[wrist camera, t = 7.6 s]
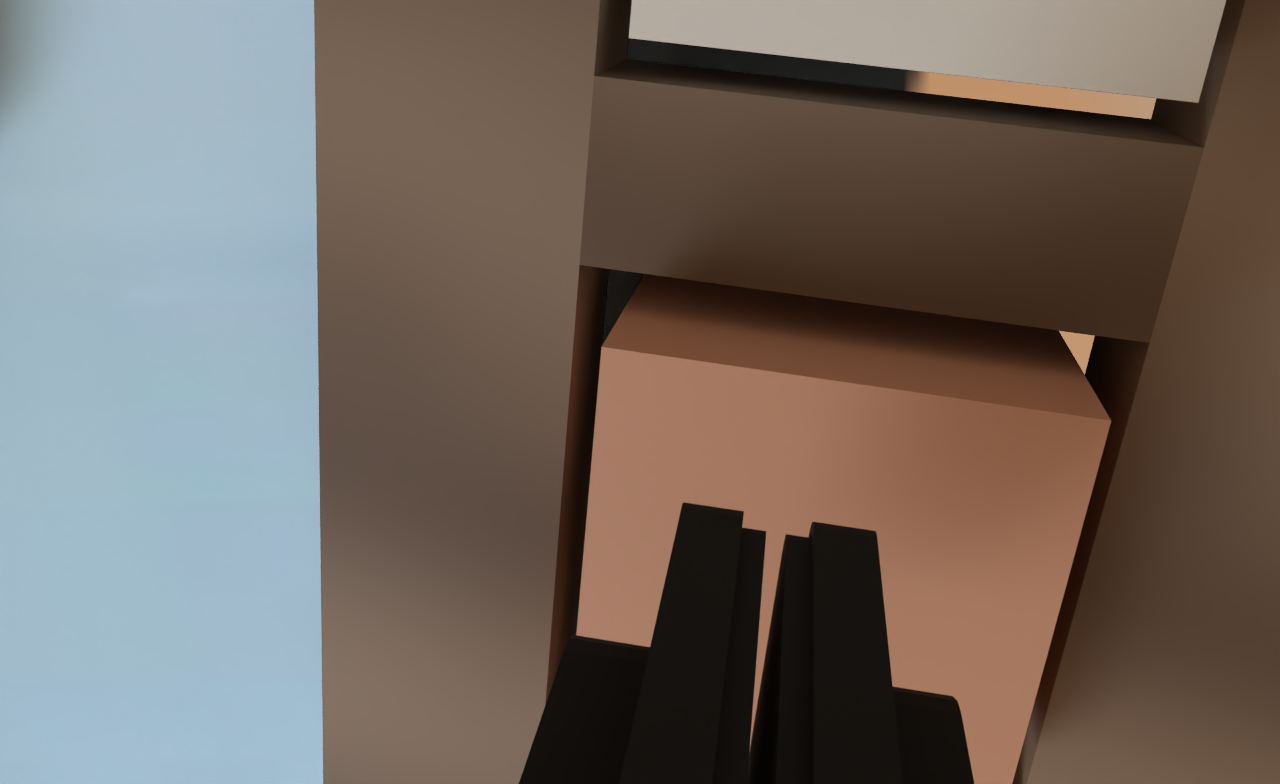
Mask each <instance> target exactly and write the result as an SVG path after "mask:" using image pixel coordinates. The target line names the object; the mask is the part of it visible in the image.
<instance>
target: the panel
mask: <svg viewBox="0 0 1280 784" xmlns="http://www.w3.org/2000/svg"><path fill="white" fill-rule="evenodd" d="M631 5H632V0H314V13H315V98H316V184H317V270H318V356H319V441H320V527H321V613H322V699H323V784H519V781H520V778H521V775H522V773H523V770H524V767H525V764H526V761H527V758H528V755H529V752H530V749H531V746H532V743H533V740H534V737H535V734H536V731H537V729H538V726H539V723H540V720H541V717H542V714H543V711H544V708H545V705H546V702H547V699H548V696H549V693H550V690H551V688H552V685H553V682H554V679H555V676H556V673H557V670H558V667H559V664H560V661H561V658H562V655H563V652H564V649H565V647H566V645H567V642H568V640H569V638H570V637H571V636H572V635H576V633H577V621H578V610H579V599H580V587H581V576H582V564H583V553H584V542H585V530H586V519H587V507H588V496H589V484H590V473H591V462H592V450H593V439H594V427H595V416H596V404H597V393H598V382H599V370H600V359H601V347H602V340H603V329H604V317H605V306H606V295H607V283H608V272H609V269H613V270H621V271H628V272H635V273H643V274H650V275H657V276H664V277H672V278H679V279H686V280H694V281H701V282H708V283H716V284H723V285H730V286H737V287H745V288H752V289H759V290H767V291H774V292H781V293H789V294H796V295H803V296H810V297H818V298H825V299H832V300H840V301H847V302H854V303H862V304H869V305H876V306H883V307H891V308H898V309H905V310H913V311H920V312H927V313H935V314H942V315H949V316H956V317H964V318H971V319H978V320H986V321H993V322H1000V323H1008V324H1015V325H1022V326H1029V327H1037V328H1044V329H1051V330H1059V331H1066V332H1073V333H1081V334H1088V335H1095V338H1094V342H1093V346H1092V349H1091V353H1090V357H1089V362H1088V365H1087V369H1086V373H1085V377H1086V378H1087V380H1088V382H1089V384H1090V385H1091V387H1092V389H1093V390H1094V392H1095V394H1096V395H1097V397H1098V399H1099V401H1100V402H1101V404H1102V406H1103V407H1104V409H1105V411H1106V412H1107V414H1108V416H1109V418H1110V419H1111V424H1110V428H1109V431H1108V435H1107V439H1106V442H1105V446H1104V450H1103V453H1102V457H1101V461H1100V464H1099V468H1098V472H1097V475H1096V479H1095V483H1094V486H1093V490H1092V493H1091V497H1090V501H1089V504H1088V508H1087V512H1086V515H1085V519H1084V523H1083V526H1082V530H1081V534H1080V537H1079V541H1078V545H1077V548H1076V552H1075V556H1074V559H1073V563H1072V567H1071V570H1070V574H1069V578H1068V581H1067V585H1066V589H1065V592H1064V596H1063V600H1062V603H1061V607H1060V611H1059V614H1058V618H1057V622H1056V625H1055V629H1054V633H1053V636H1052V640H1051V644H1050V647H1049V651H1048V655H1047V658H1046V662H1045V665H1044V669H1043V673H1042V676H1041V680H1040V684H1039V687H1038V691H1037V695H1036V698H1035V702H1034V706H1033V709H1032V713H1031V717H1030V720H1029V724H1028V728H1027V731H1026V735H1025V739H1024V742H1023V746H1022V750H1021V753H1020V757H1019V761H1018V764H1017V768H1016V772H1015V775H1014V779H1013V783H1012V784H1280V0H1226V3H1225V7H1224V10H1223V14H1222V18H1221V21H1220V25H1219V29H1218V32H1217V36H1216V40H1215V43H1214V47H1213V51H1212V54H1211V58H1210V62H1209V65H1208V69H1207V73H1206V76H1205V80H1204V84H1203V87H1202V91H1201V95H1200V98H1199V102H1198V103H1196V102H1187V101H1178V100H1169V99H1161V98H1157V99H1156V103H1155V107H1154V110H1153V114H1152V118H1151V119H1142V118H1133V117H1124V116H1116V115H1108V114H1099V113H1090V112H1082V111H1072V110H1064V109H1056V108H1046V107H1038V106H1030V105H1021V104H1013V103H1004V102H995V101H986V100H977V99H969V98H960V97H952V96H943V95H934V94H926V93H917V92H909V91H900V90H891V89H883V88H874V87H865V86H857V85H848V84H840V83H831V82H822V81H814V80H805V79H796V78H788V77H779V76H770V75H762V74H753V73H744V72H736V71H727V70H718V69H710V68H701V67H693V66H684V65H675V64H667V63H658V62H649V61H641V60H632V59H627V55H628V44H629V28H630V16H631Z"/></svg>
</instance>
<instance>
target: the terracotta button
mask: <svg viewBox="0 0 1280 784" xmlns="http://www.w3.org/2000/svg"><path fill="white" fill-rule="evenodd" d="M1110 424H1111V419H1110V418H1109V416H1108V414H1107V412H1106V411H1105V409H1104V407H1103V406H1102V404H1101V402H1100V401H1099V399H1098V397H1097V395H1096V394H1095V392H1094V390H1093V389H1092V387H1091V385H1090V384H1089V382H1088V380H1087V378H1086V377H1085V375H1084V373H1083V372H1082V370H1081V368H1080V367H1079V365H1078V363H1077V361H1076V360H1075V358H1074V356H1073V355H1072V353H1071V351H1070V350H1069V348H1068V346H1067V345H1066V343H1065V341H1064V339H1063V338H1062V336H1061V334H1060V333H1059V331H1058V330H1051V329H1044V328H1037V327H1029V326H1022V325H1015V324H1008V323H1000V322H993V321H986V320H978V319H971V318H964V317H956V316H949V315H942V314H935V313H927V312H920V311H913V310H905V309H898V308H891V307H883V306H876V305H869V304H862V303H854V302H847V301H840V300H832V299H825V298H818V297H810V296H803V295H796V294H789V293H781V292H774V291H767V290H759V289H752V288H745V287H737V286H730V285H723V284H716V283H708V282H701V281H694V280H686V279H679V278H672V277H664V276H657V275H650V274H644V276H643V278H642V279H641V281H640V283H639V284H638V286H637V288H636V290H635V291H634V293H633V295H632V296H631V298H630V300H629V301H628V303H627V305H626V306H625V308H624V310H623V311H622V313H621V315H620V317H619V318H618V320H617V322H616V323H615V325H614V327H613V328H612V330H611V332H610V333H609V335H608V337H607V338H606V340H605V342H604V344H603V345H602V347H601V359H600V370H599V382H598V393H597V404H596V416H595V427H594V439H593V450H592V462H591V473H590V484H589V496H588V507H587V519H586V530H585V542H584V553H583V564H582V576H581V587H580V599H579V610H578V621H577V633H576V635H577V636H584V637H590V638H596V639H602V640H608V641H614V642H621V643H627V644H633V645H639V646H645V647H650V645H651V641H652V637H653V632H654V628H655V623H656V619H657V614H658V610H659V605H660V601H661V596H662V592H663V588H664V583H665V579H666V574H667V570H668V565H669V561H670V556H671V552H672V548H673V543H674V539H675V534H676V530H677V525H678V521H679V516H680V512H681V508H682V504H683V502H685V503H692V504H698V505H705V506H712V507H718V508H725V509H732V510H739V511H744V515H743V524H742V528H748V529H755V530H762V531H766V543H765V556H764V569H763V582H762V595H761V608H760V620H759V633H758V646H757V659H756V672H755V685H754V698H753V711H752V724H751V737H750V746H751V739H752V733H753V727H754V721H755V715H756V709H757V703H758V697H759V691H760V684H761V678H762V672H763V666H764V660H765V654H766V648H767V642H768V636H769V629H770V623H771V617H772V611H773V605H774V599H775V593H776V587H777V581H778V575H779V568H780V562H781V556H782V550H783V545H784V540H785V536H786V534H788V535H795V536H802V537H808V536H809V531H810V527H811V524H812V522H819V523H826V524H832V525H839V526H846V527H853V528H859V529H866V530H873V531H876V534H877V540H878V550H879V559H880V569H881V579H882V589H883V598H884V608H885V618H886V627H887V637H888V647H889V657H890V666H891V676H892V686H893V687H899V688H905V689H911V690H918V691H924V692H930V693H936V694H942V695H949V696H953V697H954V698H955V699H956V700H957V701H958V704H959V707H960V711H961V715H962V720H963V725H964V731H965V736H966V741H967V747H968V752H969V758H970V763H971V768H972V774H973V779H974V784H1012V783H1013V779H1014V775H1015V772H1016V768H1017V764H1018V761H1019V757H1020V753H1021V750H1022V746H1023V742H1024V739H1025V735H1026V731H1027V728H1028V724H1029V720H1030V717H1031V713H1032V709H1033V706H1034V702H1035V698H1036V695H1037V691H1038V687H1039V684H1040V680H1041V676H1042V673H1043V669H1044V665H1045V662H1046V658H1047V655H1048V651H1049V647H1050V644H1051V640H1052V636H1053V633H1054V629H1055V625H1056V622H1057V618H1058V614H1059V611H1060V607H1061V603H1062V600H1063V596H1064V592H1065V589H1066V585H1067V581H1068V578H1069V574H1070V570H1071V567H1072V563H1073V559H1074V556H1075V552H1076V548H1077V545H1078V541H1079V537H1080V534H1081V530H1082V526H1083V523H1084V519H1085V515H1086V512H1087V508H1088V504H1089V501H1090V497H1091V493H1092V490H1093V486H1094V483H1095V479H1096V475H1097V472H1098V468H1099V464H1100V461H1101V457H1102V453H1103V450H1104V446H1105V442H1106V439H1107V435H1108V431H1109V428H1110ZM749 752H750V750H749Z"/></svg>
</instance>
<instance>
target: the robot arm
mask: <svg viewBox="0 0 1280 784" xmlns="http://www.w3.org/2000/svg"><path fill="white" fill-rule="evenodd" d="M743 515H744V511H739V510H732V509H725V508H718V507H712V506H705V505H698V504H692V503H685V502H683V504H682V508H681V512H680V516H679V521H678V525H677V530H676V534H675V539H674V543H673V548H672V552H671V556H670V561H669V565H668V570H667V574H666V579H665V583H664V588H663V592H662V596H661V601H660V605H659V610H658V614H657V619H656V623H655V628H654V632H653V637H652V641H651V645H650V647H645V646H639V645H633V644H627V643H621V642H614V641H608V640H602V639H596V638H590V637H584V636H577V635H572V636H571V637H570V638H569V640H568V642H567V645H566V647H565V649H564V652H563V655H562V658H561V661H560V664H559V667H558V670H557V673H556V676H555V679H554V682H553V685H552V688H551V690H550V693H549V696H548V699H547V702H546V705H545V708H544V711H543V714H542V717H541V720H540V723H539V726H538V729H537V731H536V734H535V737H534V740H533V743H532V746H531V749H530V752H529V755H528V758H527V761H526V764H525V767H524V770H523V773H522V775H521V778H520V781H519V784H974V779H973V774H972V768H971V763H970V758H969V752H968V747H967V741H966V736H965V731H964V725H963V720H962V715H961V711H960V707H959V704H958V701H957V700H956V699H955V698H954V697H953V696H949V695H942V694H936V693H930V692H924V691H918V690H911V689H905V688H899V687H893V686H892V676H891V666H890V657H889V647H888V637H887V627H886V618H885V608H884V598H883V589H882V579H881V569H880V559H879V550H878V540H877V534H876V531H873V530H866V529H859V528H853V527H846V526H839V525H832V524H826V523H819V522H812V524H811V527H810V531H809V536H808V537H802V536H795V535H788V534H786V536H785V540H784V545H783V550H782V556H781V562H780V568H779V575H778V581H777V587H776V593H775V599H774V605H773V611H772V617H771V623H770V629H769V636H768V642H767V648H766V654H765V660H764V666H763V672H762V678H761V684H760V691H759V697H758V703H757V709H756V715H755V721H754V727H753V733H752V739H751V746H750V737H751V724H752V711H753V698H754V685H755V672H756V659H757V646H758V633H759V620H760V608H761V595H762V582H763V569H764V556H765V543H766V531H762V530H755V529H748V528H742V524H743ZM749 750H750V752H749Z"/></svg>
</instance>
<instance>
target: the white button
mask: <svg viewBox="0 0 1280 784" xmlns="http://www.w3.org/2000/svg"><path fill="white" fill-rule="evenodd" d="M1225 3H1226V0H632V5H631V16H630V28H629V38H632V39H641V40H650V41H658V42H667V43H676V44H685V45H694V46H702V47H711V48H720V49H729V50H738V51H746V52H755V53H764V54H773V55H782V56H791V57H799V58H808V59H817V60H826V61H835V62H843V63H852V64H861V65H870V66H879V67H887V68H896V69H905V70H914V71H923V72H931V73H940V74H949V75H959V76H967V77H976V78H984V79H993V80H1002V81H1011V82H1021V83H1028V84H1037V85H1046V86H1055V87H1064V88H1073V89H1083V90H1090V91H1099V92H1109V93H1117V94H1126V95H1134V96H1143V97H1152V98H1161V99H1169V100H1178V101H1187V102H1196V103H1198V102H1199V98H1200V95H1201V91H1202V87H1203V84H1204V80H1205V76H1206V73H1207V69H1208V65H1209V62H1210V58H1211V54H1212V51H1213V47H1214V43H1215V40H1216V36H1217V32H1218V29H1219V25H1220V21H1221V18H1222V14H1223V10H1224V7H1225Z"/></svg>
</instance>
